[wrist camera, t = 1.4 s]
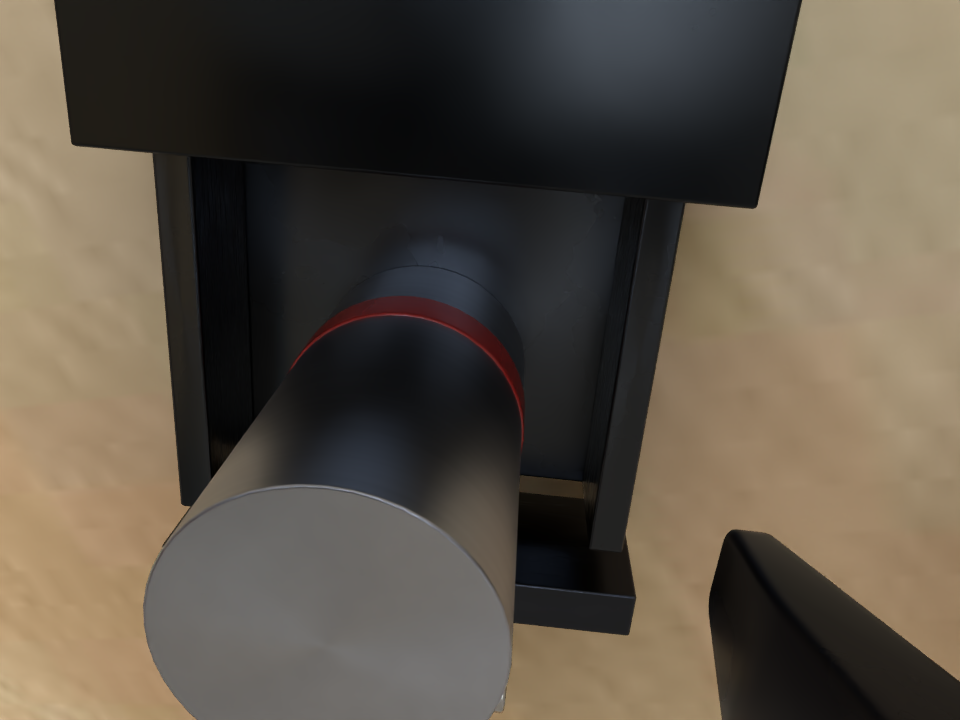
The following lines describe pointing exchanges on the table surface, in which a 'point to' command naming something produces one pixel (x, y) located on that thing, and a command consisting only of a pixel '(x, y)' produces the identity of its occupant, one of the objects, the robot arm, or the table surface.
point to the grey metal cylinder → (359, 523)
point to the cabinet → (443, 88)
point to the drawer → (457, 248)
